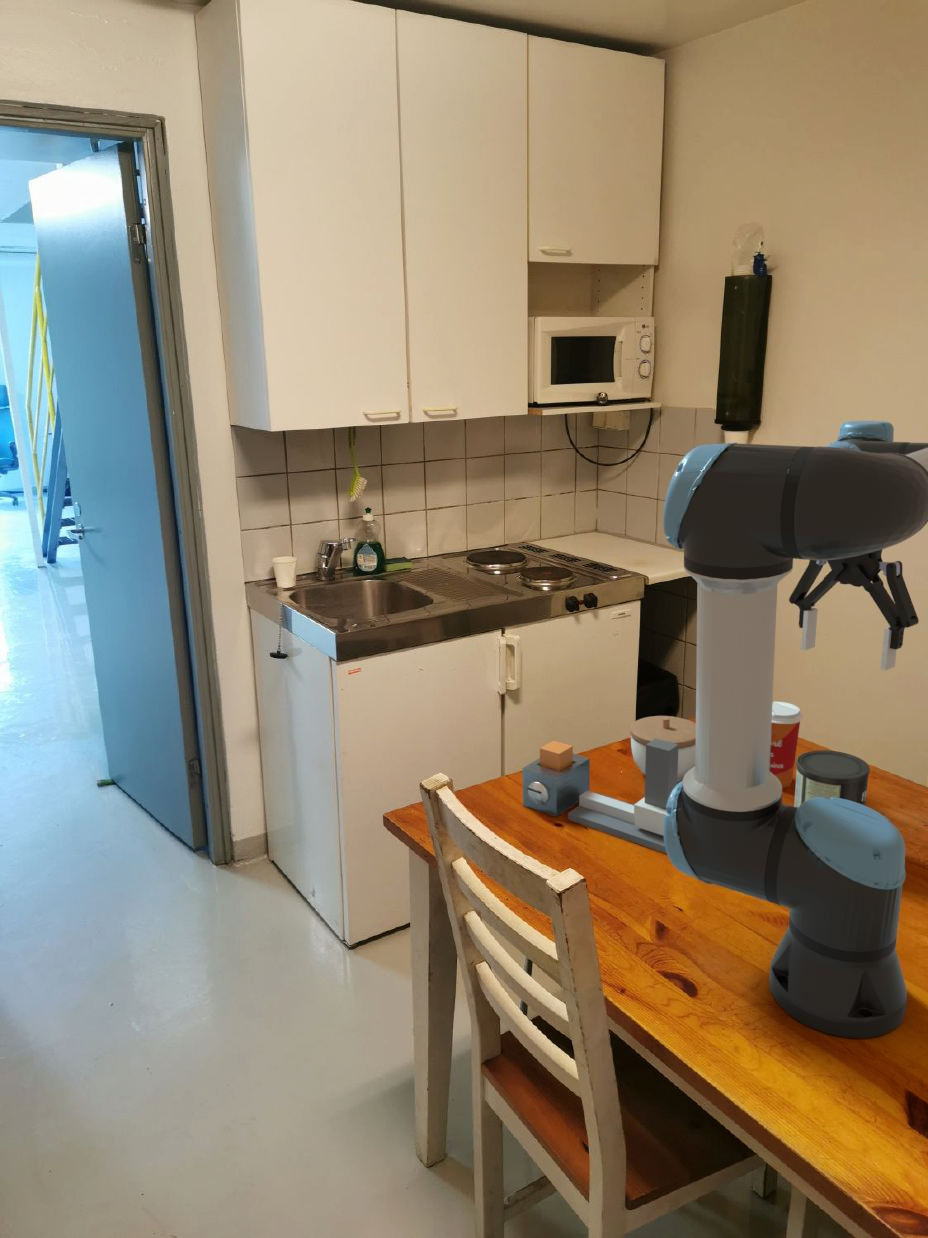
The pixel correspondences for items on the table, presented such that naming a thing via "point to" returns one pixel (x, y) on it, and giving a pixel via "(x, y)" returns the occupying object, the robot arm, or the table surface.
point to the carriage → (657, 785)
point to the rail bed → (614, 820)
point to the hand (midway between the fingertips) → (846, 658)
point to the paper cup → (784, 740)
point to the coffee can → (830, 777)
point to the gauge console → (555, 786)
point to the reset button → (556, 756)
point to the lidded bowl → (665, 739)
